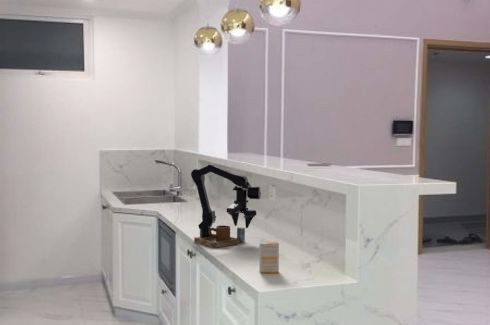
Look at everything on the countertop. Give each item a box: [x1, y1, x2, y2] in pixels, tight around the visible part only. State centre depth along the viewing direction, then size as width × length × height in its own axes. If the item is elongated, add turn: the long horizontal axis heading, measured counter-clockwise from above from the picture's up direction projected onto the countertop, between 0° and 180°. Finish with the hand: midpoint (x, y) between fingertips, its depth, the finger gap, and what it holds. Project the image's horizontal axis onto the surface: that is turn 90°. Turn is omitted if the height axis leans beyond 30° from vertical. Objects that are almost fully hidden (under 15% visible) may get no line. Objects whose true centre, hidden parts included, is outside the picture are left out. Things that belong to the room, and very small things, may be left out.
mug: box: [208, 225, 231, 242], centre depth 297 cm, size 12×8×9 cm, turn 109°
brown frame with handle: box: [193, 226, 246, 248], centre depth 302 cm, size 18×24×7 cm
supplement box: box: [258, 240, 280, 274], centre depth 243 cm, size 8×5×13 cm, turn 92°
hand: (241, 226), depth 306 cm, fingers open, 9 cm apart
